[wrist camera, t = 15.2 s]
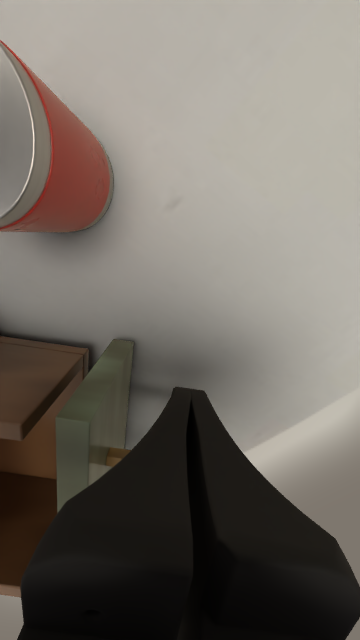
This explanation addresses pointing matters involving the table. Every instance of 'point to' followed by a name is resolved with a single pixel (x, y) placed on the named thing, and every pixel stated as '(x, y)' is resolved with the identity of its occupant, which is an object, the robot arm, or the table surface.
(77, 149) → the can
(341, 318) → the table surface
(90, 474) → the drawer
